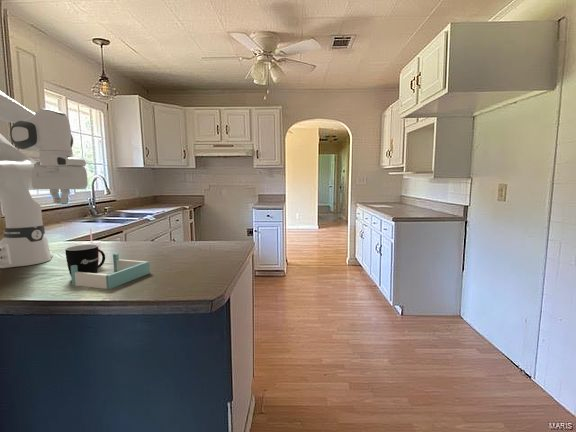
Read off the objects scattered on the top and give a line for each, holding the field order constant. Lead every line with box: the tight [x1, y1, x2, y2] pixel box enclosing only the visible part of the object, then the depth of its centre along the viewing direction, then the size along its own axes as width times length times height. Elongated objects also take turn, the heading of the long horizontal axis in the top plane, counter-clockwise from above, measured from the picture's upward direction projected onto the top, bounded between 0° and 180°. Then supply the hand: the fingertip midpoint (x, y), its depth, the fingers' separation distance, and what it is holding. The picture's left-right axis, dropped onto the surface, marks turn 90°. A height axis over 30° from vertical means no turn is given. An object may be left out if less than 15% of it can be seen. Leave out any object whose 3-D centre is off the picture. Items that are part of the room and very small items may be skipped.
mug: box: [65, 244, 106, 276], centre depth 107 cm, size 12×9×10 cm
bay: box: [70, 253, 151, 290], centre depth 104 cm, size 14×17×6 cm
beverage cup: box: [81, 228, 102, 265], centre depth 120 cm, size 6×6×14 cm
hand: (60, 203), depth 107 cm, fingers closed
